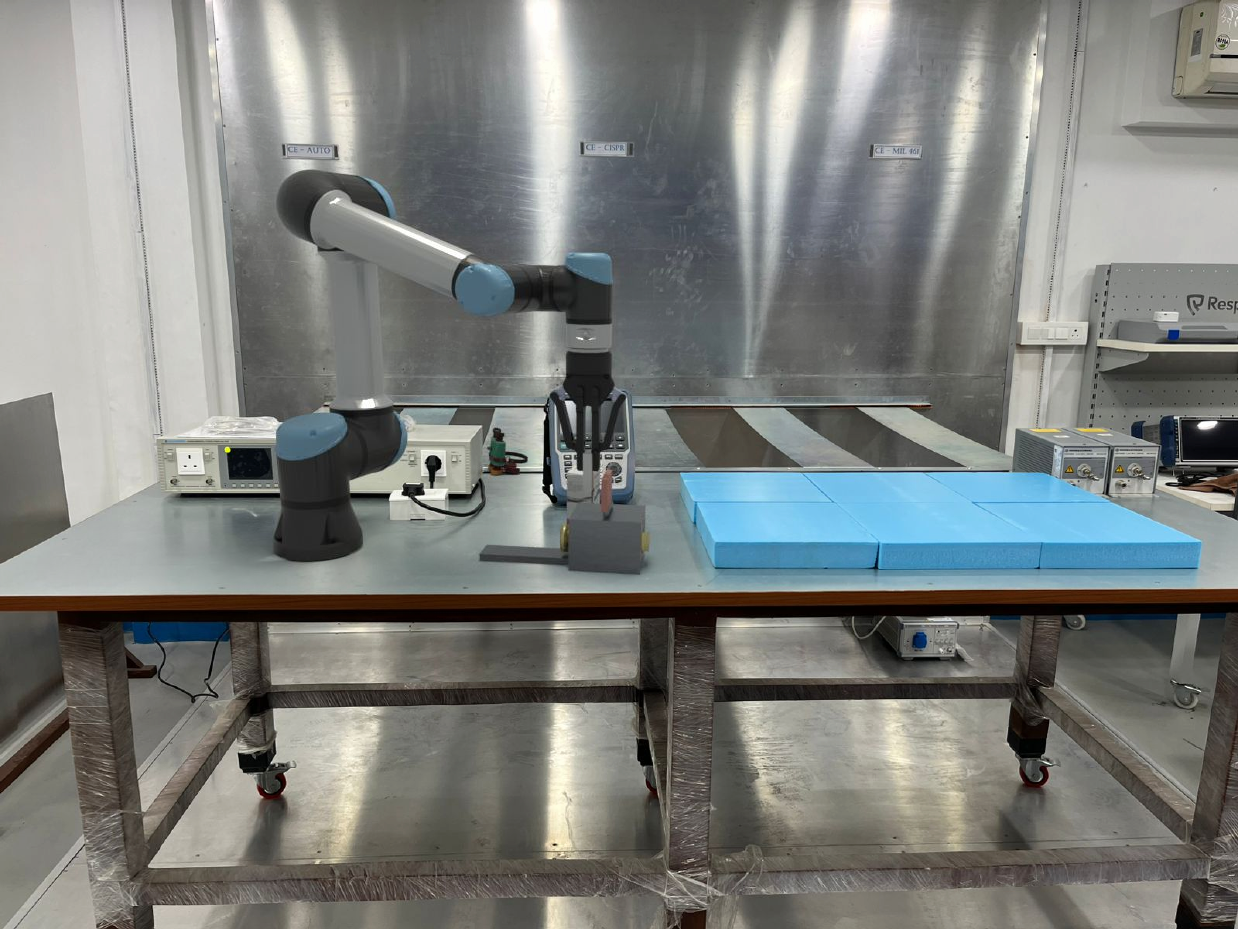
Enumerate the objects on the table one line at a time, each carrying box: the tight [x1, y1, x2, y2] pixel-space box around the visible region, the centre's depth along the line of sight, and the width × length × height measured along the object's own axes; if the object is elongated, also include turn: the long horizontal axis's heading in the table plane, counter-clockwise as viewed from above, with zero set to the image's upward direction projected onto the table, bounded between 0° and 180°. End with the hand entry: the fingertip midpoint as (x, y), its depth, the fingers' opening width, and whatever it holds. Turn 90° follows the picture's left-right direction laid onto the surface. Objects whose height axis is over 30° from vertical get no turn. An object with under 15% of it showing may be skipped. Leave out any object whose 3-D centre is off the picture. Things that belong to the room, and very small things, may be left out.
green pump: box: [486, 427, 529, 476], centre depth 206 cm, size 9×11×10 cm
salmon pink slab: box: [600, 469, 614, 518], centre depth 143 cm, size 1×7×6 cm, turn 174°
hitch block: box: [478, 503, 646, 575], centre depth 145 cm, size 28×10×9 cm, turn 84°
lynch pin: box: [559, 523, 651, 552], centre depth 145 cm, size 15×5×5 cm, turn 84°
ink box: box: [566, 463, 601, 524], centre depth 163 cm, size 9×5×12 cm, turn 168°
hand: (588, 489), depth 143 cm, fingers closed
